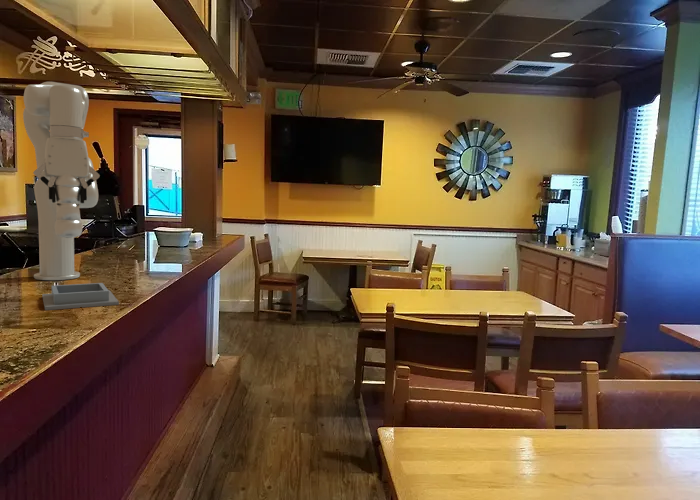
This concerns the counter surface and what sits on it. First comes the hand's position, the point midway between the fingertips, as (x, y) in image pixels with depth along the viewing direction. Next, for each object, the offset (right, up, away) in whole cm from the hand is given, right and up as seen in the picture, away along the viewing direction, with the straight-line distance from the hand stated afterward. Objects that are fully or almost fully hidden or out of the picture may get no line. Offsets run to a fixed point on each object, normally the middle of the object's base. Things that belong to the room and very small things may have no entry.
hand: (68, 202), depth 135 cm
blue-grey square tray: (+6, -26, -5) cm, 27 cm away
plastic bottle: (0, -10, +1) cm, 10 cm away
